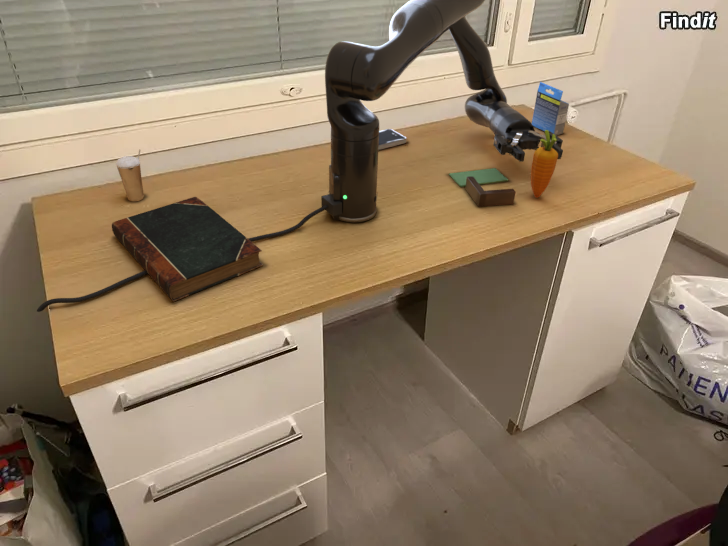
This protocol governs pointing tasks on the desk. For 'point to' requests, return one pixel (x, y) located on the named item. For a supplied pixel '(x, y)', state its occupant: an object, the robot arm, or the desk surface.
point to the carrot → (543, 165)
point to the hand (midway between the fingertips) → (541, 156)
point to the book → (186, 247)
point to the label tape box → (549, 110)
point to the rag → (479, 176)
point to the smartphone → (390, 138)
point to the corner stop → (488, 194)
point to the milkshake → (131, 177)
